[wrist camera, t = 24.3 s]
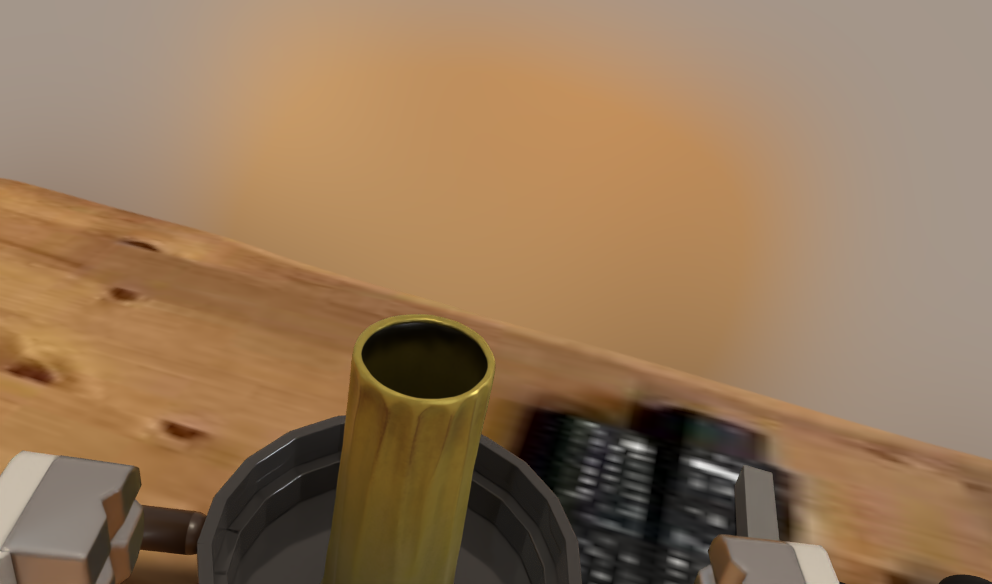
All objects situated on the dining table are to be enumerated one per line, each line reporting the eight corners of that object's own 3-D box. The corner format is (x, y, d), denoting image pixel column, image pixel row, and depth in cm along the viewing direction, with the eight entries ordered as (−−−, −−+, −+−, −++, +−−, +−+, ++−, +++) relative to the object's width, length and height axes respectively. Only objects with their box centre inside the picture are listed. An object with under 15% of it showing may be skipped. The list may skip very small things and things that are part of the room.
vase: (467, 566, 41) (522, 330, 34) (432, 679, 36) (487, 432, 28) (347, 530, 42) (373, 290, 34) (295, 637, 37) (313, 382, 29)
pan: (550, 495, 47) (568, 435, 45) (570, 807, 33) (597, 745, 31) (250, 457, 46) (251, 393, 43) (145, 768, 32) (138, 700, 30)
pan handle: (218, 532, 38) (218, 505, 37) (207, 566, 37) (206, 538, 36) (-35, 503, 37) (-43, 474, 36) (-58, 536, 36) (-66, 506, 35)
